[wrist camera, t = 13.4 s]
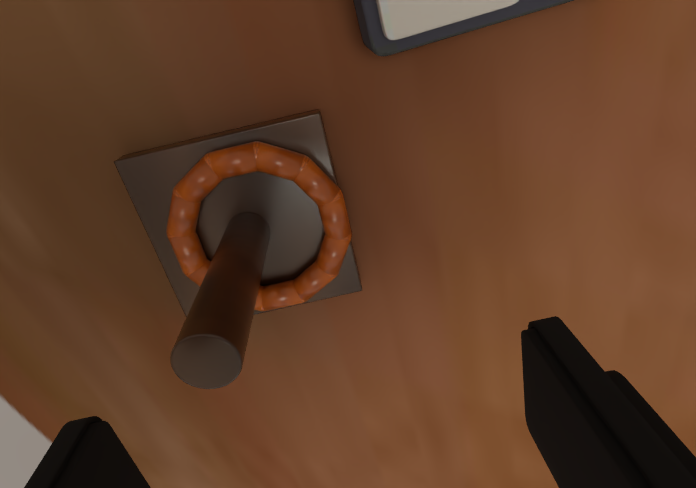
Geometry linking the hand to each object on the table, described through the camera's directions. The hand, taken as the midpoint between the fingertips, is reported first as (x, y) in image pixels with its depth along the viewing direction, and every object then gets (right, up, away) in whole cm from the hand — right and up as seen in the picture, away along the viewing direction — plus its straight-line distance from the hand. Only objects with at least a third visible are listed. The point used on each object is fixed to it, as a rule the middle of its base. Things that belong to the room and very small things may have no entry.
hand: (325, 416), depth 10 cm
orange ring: (-3, +4, +10) cm, 12 cm away
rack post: (-4, +5, +12) cm, 13 cm away
